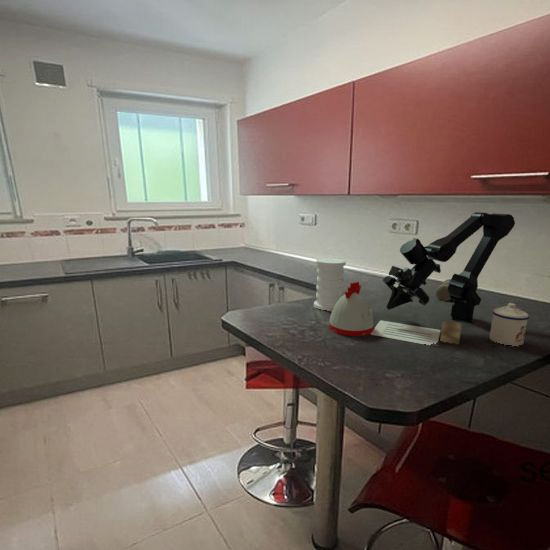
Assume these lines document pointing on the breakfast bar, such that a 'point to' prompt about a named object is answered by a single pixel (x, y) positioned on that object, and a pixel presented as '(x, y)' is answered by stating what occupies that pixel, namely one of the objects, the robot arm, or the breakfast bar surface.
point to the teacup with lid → (508, 325)
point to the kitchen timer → (351, 314)
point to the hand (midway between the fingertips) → (387, 308)
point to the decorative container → (329, 282)
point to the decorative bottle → (443, 291)
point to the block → (450, 332)
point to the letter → (406, 332)
